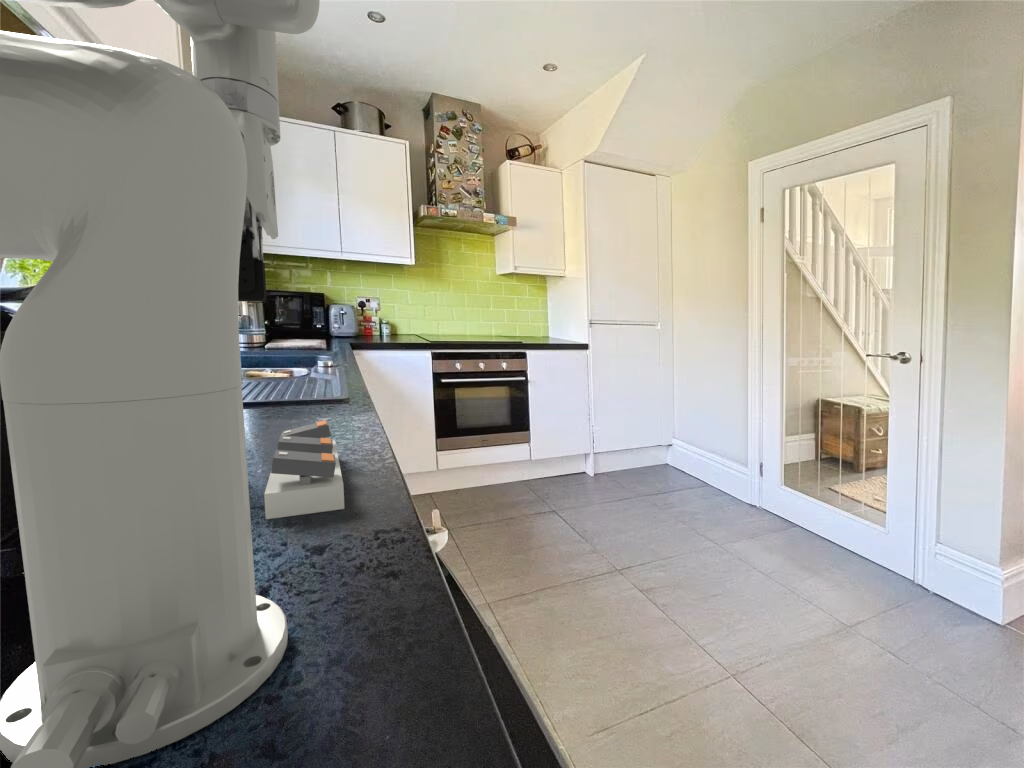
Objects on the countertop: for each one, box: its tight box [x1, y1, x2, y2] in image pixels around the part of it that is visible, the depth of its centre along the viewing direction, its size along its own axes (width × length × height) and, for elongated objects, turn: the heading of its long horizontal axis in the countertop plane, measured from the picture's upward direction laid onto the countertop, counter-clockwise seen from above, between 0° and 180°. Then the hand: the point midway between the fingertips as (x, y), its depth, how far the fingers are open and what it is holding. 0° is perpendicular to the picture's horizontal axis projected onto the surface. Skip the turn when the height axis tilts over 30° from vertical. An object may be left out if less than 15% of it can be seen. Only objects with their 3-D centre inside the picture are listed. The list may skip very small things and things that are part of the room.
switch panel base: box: [264, 439, 345, 520], centre depth 60 cm, size 22×7×4 cm, turn 22°
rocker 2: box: [276, 435, 333, 454], centre depth 59 cm, size 4×6×2 cm, turn 112°
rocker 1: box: [280, 419, 332, 438], centre depth 67 cm, size 4×6×2 cm, turn 112°
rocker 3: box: [270, 449, 336, 478], centre depth 52 cm, size 4×6×2 cm, turn 112°
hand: (248, 300), depth 50 cm, fingers closed
